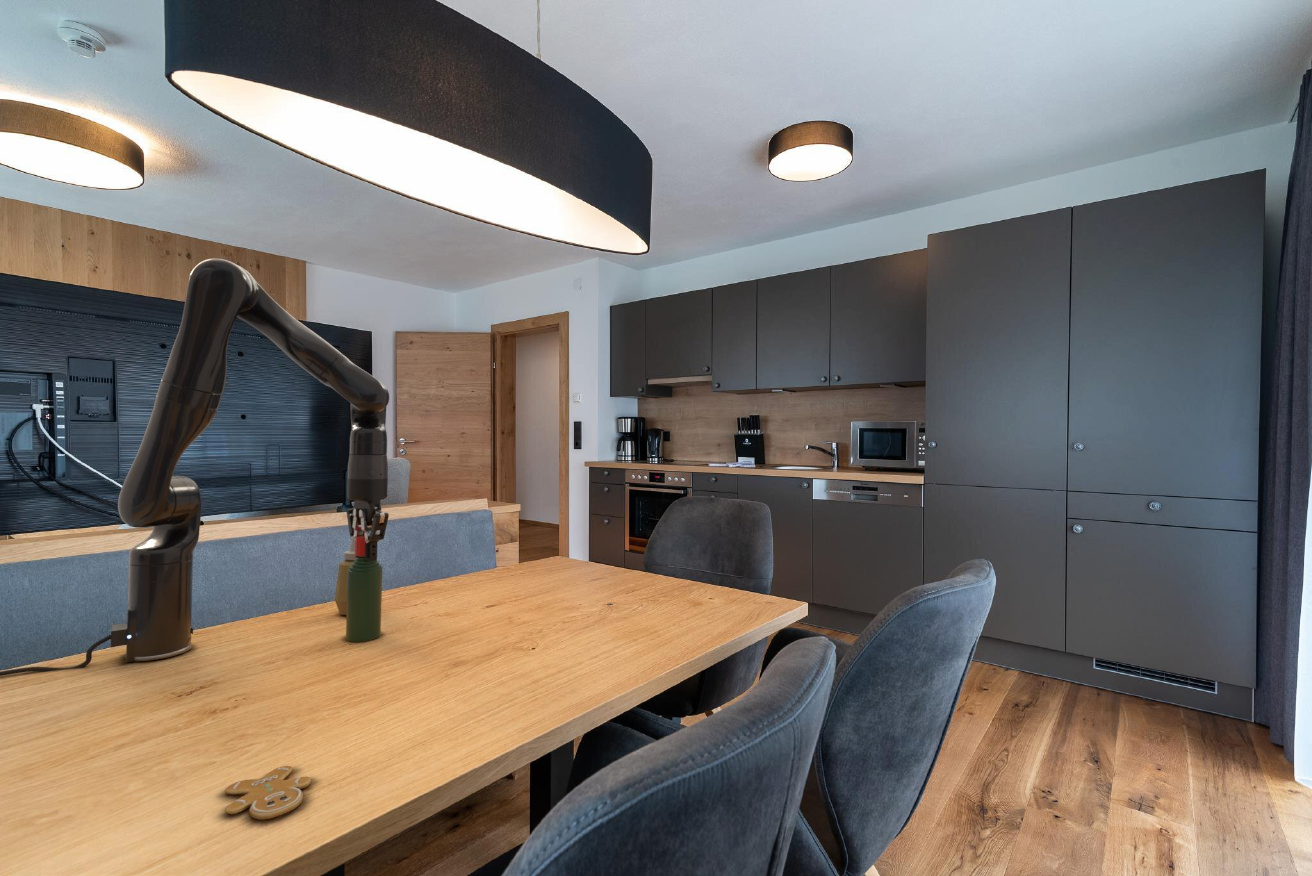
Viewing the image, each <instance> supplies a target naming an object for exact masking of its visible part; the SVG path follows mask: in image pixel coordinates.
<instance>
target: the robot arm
mask: <svg viewBox="0 0 1312 876" xmlns="http://www.w3.org/2000/svg"><path fill="white" fill-rule="evenodd" d="M186 287H187V289H186V292H185V293H186V294H185V301H184V306H183V312H182V318H181V323H180V326H179V329H178V332H177V334H176V338H175V340H174V343H173V345H172V348H171V350H170V354H169V356H168V359H167V363H166V366H165V369H164V371H163V374H162V377H161V379H160V383H159V386H158V388H157V389H158V390H157V393H156V396H155V399H154V404H153V407H152V408H153V409H152V411H151V414H150V418H149V421H148V422H147V426H146V428H145V432H144V435H143V438H142V440H141V443H140V446H139V448H138V450H137V453H136V455H135V458H134V460H133V461H132V464H131V466H130V468H129V470H128V473H127V474H126V477H125V479H124V481H123V484H122V486H121V489H120V491H119V495H118V501H117V510H118V514H119V518H120V519H121V521H122V522H123V523H124V524H126V525H127V526H129V527H132V528H137V529H142V528H144V529H145V528H152V531H151V533H150V534H149V536H147V538H145V539H144V540H143V541H142V542H140V543H138V544H136V545H135V546H133V547H132V548H131V549H130V551H129V554H128V586H127V587H128V589H127V590H128V591H127V613H126V615H127V616H126V622H124V623H117V624H111V629H110V634H109V635H107V636H105V637H103V638H101V639H100V640H98V641H96V642H94V643H93V644H91V646H89V647H88V649H87V651H86V654H85V660H84V661H83V662H81V663H79V664H78V665H74V666H71V667H50V666H29V667H28V666H27V667H21V668H14V669H6V670H1V671H0V677H2V676H9V675H14V674H23V673H29V672H54V671H62V670H74V669H81V668H85V667H87V666H88V665H89V664H91V661H92V660H93V659H92V658H93V651H94V650H95V649H96V648H97V647H99V646H100V645H103V644H104V643H106V642H108V641H109V640H110V648H115V647H122V646H125V647H126V648H125V649H126V651H125V663H134V662H150V661H157V660H163V659H167V658H171V657H175V656H179V655H182V654H185V653H186V652H188V651H190V650H191V649H192V635H194V628H193V627H192V619H193V618H192V615H193V583H194V582H193V579H194V578H193V577H194V551H195V549H196V548H197V545H198V543H199V539H200V530H201V518H202V508H203V507H202V506H203V505H202V493H201V490H200V487H199V486H198V484H197V482H196V481H194V480H193V479H192V478H190V477H188V476H184V475H174V473H175V471H176V468H177V465H178V463H179V461H180V459H181V458H182V456H183V455H184V453H185V452H186V450H187V449H188V448H189V447H190V446H191V445H192V444H193V443H194V442H195V441H196V440H197V439H198V438H199V437H200V436H201V435H202V434H203V433H204V432H205V431H206V429H208V427H209V426H210V425H211V423H212V422H213V421H214V419H215V417H216V416H217V414H218V410H219V408H220V404H221V401H222V399H223V398H222V397H223V395H224V391H225V388H226V382H227V373H228V370H227V369H228V344H229V340H230V339H229V338H230V335H231V332H232V330H233V327H234V325H235V322H236V319H237V318H238V319H240V320H241V321H242V322H245V323H246V324H248V325H250V326H251V327H252V328H254V329H256V330H257V331H258V332H260V333H261V334H263V335H264V336H265V337H266V338H267V339H269V340H270V341H271V342H272V343H273V344H275V346H276V347H278V348H279V349H280V350H281V351H282V352H283V353H284V354H285V355H286V356H287V357H288V358H289V359H291V360H292V361H293V362H294V363H295V364H296V365H297V366H299V368H301V369H303V370H304V371H305V372H306V373H308V374H309V375H310V376H312V377H313V378H314V379H316V380H317V381H318V382H320V383H321V384H323V385H324V386H326V387H327V388H331V389H332V390H334V391H335V392H336V393H337V394H339V395H340V396H341V397H342V398H344V399H345V400H346V401H347V402H349V403H350V422H351V428H350V434H349V456H348V462H347V477H346V478H347V479H346V480H347V481H346V482H347V484H346V485H347V486H346V489H347V490H346V498H347V500H349V501H354V502H353V507H352V508H347V509H346V517H347V518H346V519H347V525H348V533H349V536H350V537H353V536H354V537H353V538H354V540H356V537H358V536H365V542H366V543H365V561H375V560H376V559H377V560H378V543H379V542H380V541H381V540H382V541H383V540H384V539H385V535H386V531H387V526H388V521H389V517H390V513H389V512H383V511H382V505H381V501H382V500H386V499H387V498H388V489H389V488H388V484H389V483H388V482H389V480H388V479H389V462H388V461H389V460H388V432H387V430H386V422H387V406H388V405H389V402H390V393H389V391H388V388H387V387H386V385H385V384H384V383H383V382H381V381H380V380H379V379H377V378H376V377H375V376H373V375H372V374H370V373H369V372H367V371H365V370H364V369H362V368H361V367H359V366H358V365H356V364H355V363H353V362H352V361H351V360H350V359H349V358H348V357H347V356H345V354H343V353H341V352H340V351H339V350H338V349H336V348H335V347H334V346H333V345H332V344H331V343H329V342H328V341H326V340H325V339H324V338H323V337H321V336H320V335H318V334H317V333H316V332H314V331H313V330H311V329H310V328H308V327H307V326H306V325H304V324H303V323H302V322H300V321H299V320H298V319H297V318H295V317H294V316H292V314H290V313H289V312H288V311H286V310H285V309H284V308H283V307H282V306H281V305H280V304H279V303H278V302H277V301H276V300H274V299H273V297H272V296H271V295H269V293H268V292H267V291H266V290H265V289H264V288H263V287H262V286H261V285H260V284H259V283H258V282H257V281H256V279H255V278H254V277H253V275H252V274H251V273H250V272H249V271H248V270H246V269H245V268H243V267H242V266H240V265H238V264H236V263H234V262H232V261H229V260H227V259H223V258H209V259H205V260H203V261H201V262H199V263H198V264H197V265H196V266H195V267H194V268H192V271H191V272H190V274H189V278H188V282H187V286H186ZM357 557H358V556H356V555H355V558H357Z"/></svg>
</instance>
